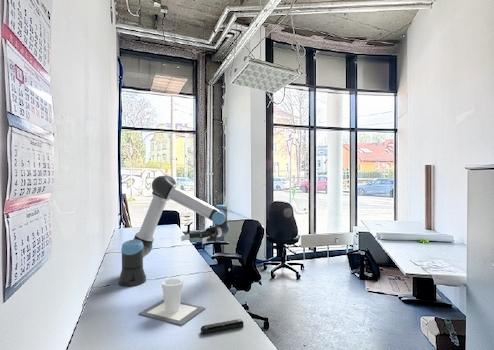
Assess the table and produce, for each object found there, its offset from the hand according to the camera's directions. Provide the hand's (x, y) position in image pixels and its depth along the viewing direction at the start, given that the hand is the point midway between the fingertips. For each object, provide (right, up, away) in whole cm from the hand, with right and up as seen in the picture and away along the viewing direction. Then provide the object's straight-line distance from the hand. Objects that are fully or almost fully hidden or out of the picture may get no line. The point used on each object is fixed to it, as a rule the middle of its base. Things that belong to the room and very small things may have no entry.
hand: (192, 239), depth 171 cm
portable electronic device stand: (+19, -29, -40) cm, 53 cm away
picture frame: (-5, -28, -24) cm, 37 cm away
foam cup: (-5, -28, -23) cm, 37 cm away
